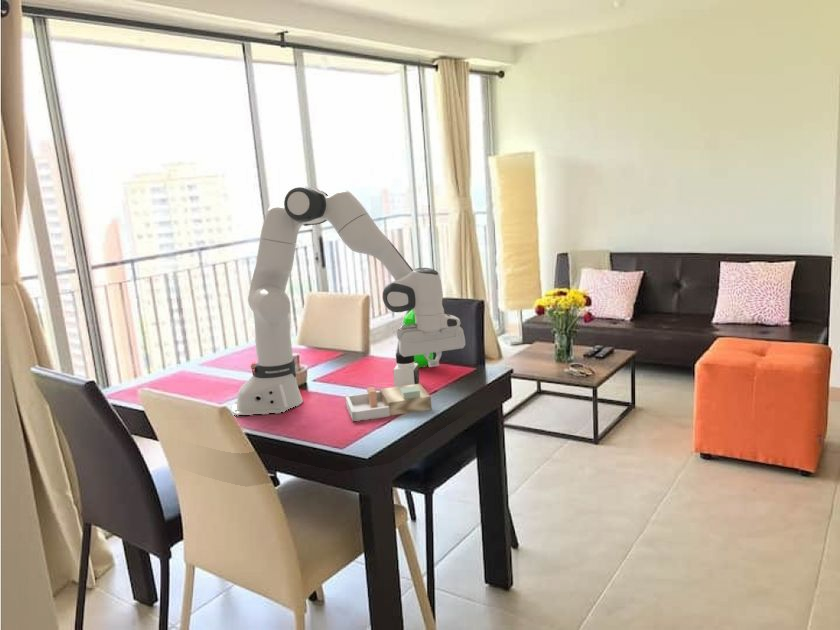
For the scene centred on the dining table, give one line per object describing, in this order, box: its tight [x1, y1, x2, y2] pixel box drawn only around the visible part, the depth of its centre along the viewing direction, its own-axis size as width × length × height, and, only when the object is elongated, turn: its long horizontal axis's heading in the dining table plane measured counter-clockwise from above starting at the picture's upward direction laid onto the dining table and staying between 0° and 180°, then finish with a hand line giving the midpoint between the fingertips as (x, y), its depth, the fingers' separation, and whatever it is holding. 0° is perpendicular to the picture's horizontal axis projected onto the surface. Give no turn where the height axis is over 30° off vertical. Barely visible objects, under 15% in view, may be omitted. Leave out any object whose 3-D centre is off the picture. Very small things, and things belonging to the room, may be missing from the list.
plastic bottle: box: [402, 310, 434, 368], centre depth 245 cm, size 10×10×25 cm
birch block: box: [379, 383, 432, 416], centre depth 205 cm, size 13×14×4 cm
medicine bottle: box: [392, 351, 420, 387], centre depth 223 cm, size 7×7×12 cm
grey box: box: [344, 390, 391, 422], centre depth 203 cm, size 11×16×3 cm
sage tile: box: [400, 386, 420, 399], centre depth 202 cm, size 5×5×2 cm
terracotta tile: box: [366, 386, 377, 408], centre depth 207 cm, size 5×5×2 cm
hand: (433, 366), depth 202 cm, fingers closed
